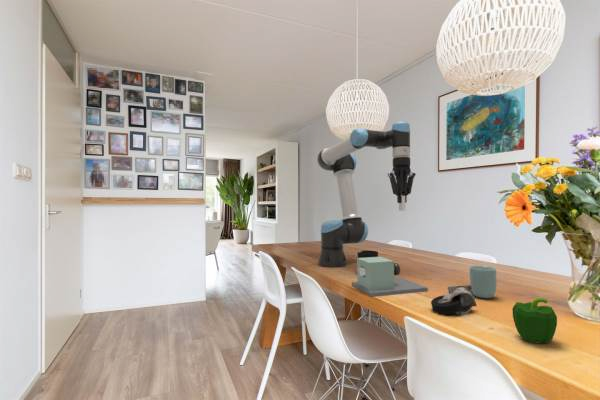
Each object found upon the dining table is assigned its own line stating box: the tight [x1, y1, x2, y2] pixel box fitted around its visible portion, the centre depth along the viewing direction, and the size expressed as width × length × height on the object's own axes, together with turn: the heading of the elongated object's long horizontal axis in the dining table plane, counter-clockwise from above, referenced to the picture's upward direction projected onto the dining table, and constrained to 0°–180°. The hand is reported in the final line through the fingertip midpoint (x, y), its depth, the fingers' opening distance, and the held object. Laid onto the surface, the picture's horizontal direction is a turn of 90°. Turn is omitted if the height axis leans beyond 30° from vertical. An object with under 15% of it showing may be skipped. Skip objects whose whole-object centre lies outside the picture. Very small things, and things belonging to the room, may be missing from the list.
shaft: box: [358, 262, 401, 276], centre depth 118 cm, size 5×16×5 cm, turn 105°
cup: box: [469, 265, 498, 300], centre depth 106 cm, size 8×8×10 cm
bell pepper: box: [511, 297, 558, 344], centre depth 73 cm, size 8×8×10 cm
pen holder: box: [357, 249, 379, 258], centre depth 144 cm, size 9×9×10 cm
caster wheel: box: [430, 284, 477, 316], centre depth 93 cm, size 7×11×10 cm
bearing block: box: [351, 256, 429, 297], centre depth 119 cm, size 16×23×11 cm
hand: (402, 210), depth 138 cm, fingers closed
